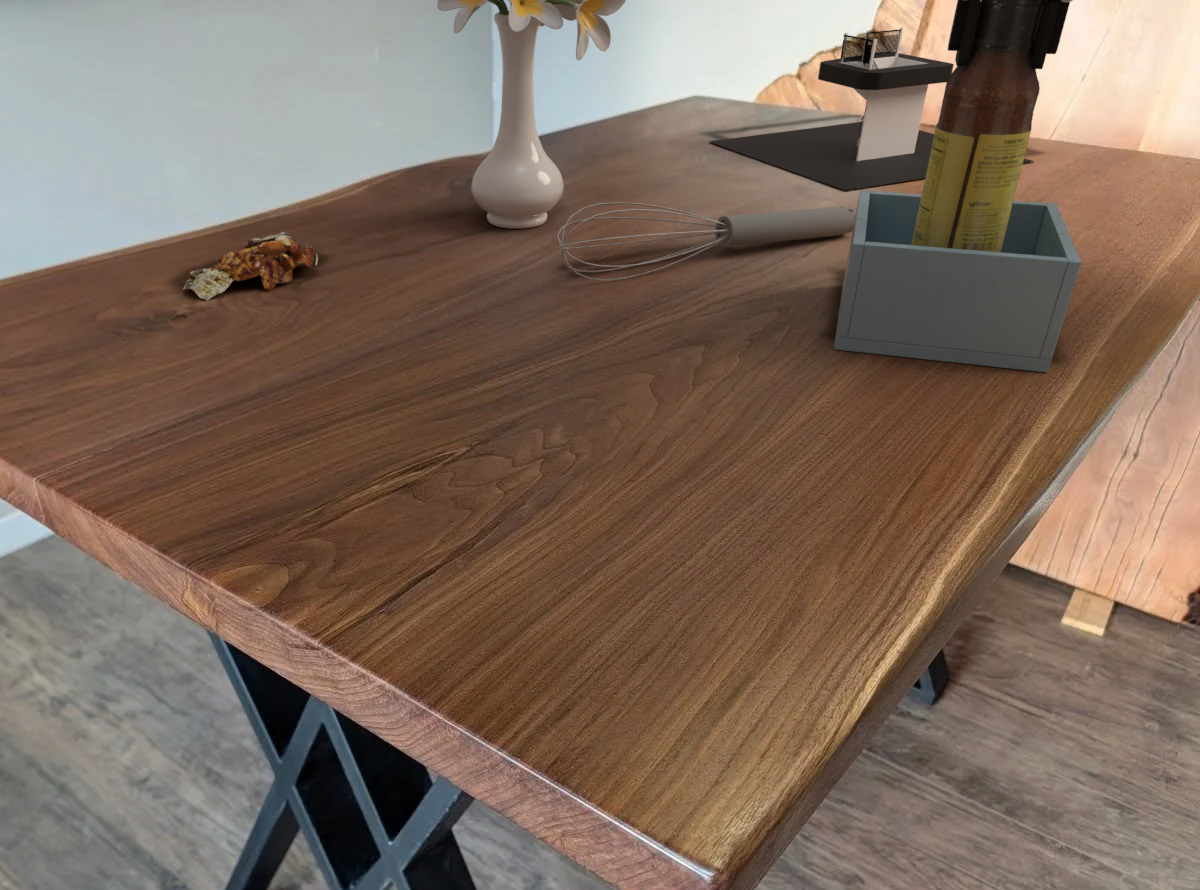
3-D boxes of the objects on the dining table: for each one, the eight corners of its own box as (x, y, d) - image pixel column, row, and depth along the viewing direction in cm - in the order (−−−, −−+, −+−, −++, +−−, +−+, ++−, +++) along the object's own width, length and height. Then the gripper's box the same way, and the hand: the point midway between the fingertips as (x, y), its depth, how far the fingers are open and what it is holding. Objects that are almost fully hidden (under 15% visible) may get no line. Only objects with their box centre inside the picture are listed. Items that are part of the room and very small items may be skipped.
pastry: (171, 289, 91) (164, 248, 89) (281, 255, 98) (276, 217, 96) (218, 308, 87) (212, 265, 85) (329, 271, 94) (325, 231, 92)
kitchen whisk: (885, 239, 100) (898, 171, 96) (576, 298, 88) (578, 223, 85) (841, 222, 104) (852, 157, 101) (542, 277, 93) (543, 205, 89)
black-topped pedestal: (879, 120, 143) (899, 12, 136) (1034, 162, 123) (1068, 38, 116) (707, 142, 134) (719, 27, 127) (845, 191, 114) (868, 58, 107)
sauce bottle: (999, 268, 80) (1087, -25, 69) (983, 291, 76) (1075, -18, 65) (912, 252, 83) (983, -32, 72) (891, 273, 79) (964, -25, 68)
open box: (1028, 302, 85) (1056, 203, 81) (1047, 373, 74) (1081, 262, 70) (842, 285, 89) (860, 189, 85) (833, 349, 78) (853, 243, 74)
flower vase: (581, 251, 98) (593, -54, 84) (414, 225, 106) (400, -59, 92) (632, 215, 108) (651, -65, 94) (476, 194, 115) (472, -68, 101)
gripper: (1225, -276, 62) (1124, 60, 72) (925, -262, 67) (870, 51, 77) (1258, -289, 56) (1144, 79, 66) (927, -273, 61) (867, 68, 71)
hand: (998, 61), depth 71 cm, fingers closed on sauce bottle, 4 cm apart
